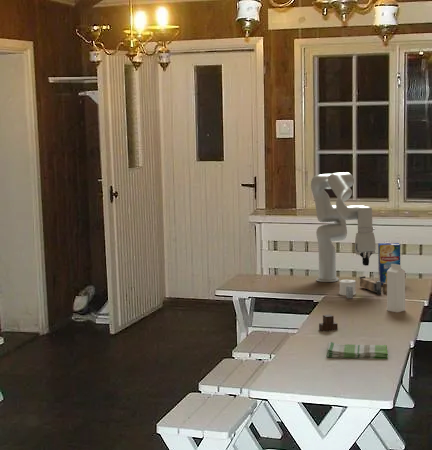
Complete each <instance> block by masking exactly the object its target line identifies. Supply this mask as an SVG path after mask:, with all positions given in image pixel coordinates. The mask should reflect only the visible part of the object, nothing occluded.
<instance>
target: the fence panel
mask: <svg viewBox="0 0 432 450" xmlns="http://www.w3.org/2000/svg"><path fill="white" fill-rule="evenodd" d="M382 286H383V287H382V293H383V294H384V295H387V283H383V285H382Z"/></svg>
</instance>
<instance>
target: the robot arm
mask: <svg viewBox="0 0 432 450" xmlns="http://www.w3.org/2000/svg"><path fill="white" fill-rule="evenodd" d="M354 183H355V177H354V176H353V174H351V173H350V172H348V171H346V172H344V171H343V172H333V173H322V174H321V173H320V174H316V175H314V176H313V177H312V178H311V180H310V189H311V192H312V195H313V198H314V205H315V213H316V218H317V220H318V222H320V223H330V224H322V225H319V227H317V228H316V239H317V245H318V246H317V247H318V277H316V278H315V279H316V281H317V282H319V283H334V282H335V283H336V282H339V281H340V278H339V277H338V276H337V267H336V265H337V264H336V262H337V261H336V259H337V258H336V255H337V253H336V252H337V251H336V247H335V245H334V244H333V242H337V241H343V240H345V239H346V238H347V234H348V230H347V221H357V232H356V233H355V240H354V251H355V254H356V255H358V256H360V257H361V258H362V266H369V264H370V258H371V256H372V255H373V254H376V249H377V248H376V247H377V246H376V238H375V234H374V232H373V231H375V229H376V228H375V227H374V226H373V208H372V207H371V206H365V205H362V204H359V205H357V204H356V205H346V204H345V203H346V201H347V200H349V199H350V198H351V197H352V195H353V190H352V189H351V188H352V187H353V186H354ZM326 190H332V192H333V193H334V195H335V196H336V197H337V198H336V202H335V204H331V203H332V202H331V198H330V195H329V193H328V192H327V191H326ZM333 222H334V223H333ZM331 223H332V224H331Z"/></svg>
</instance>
